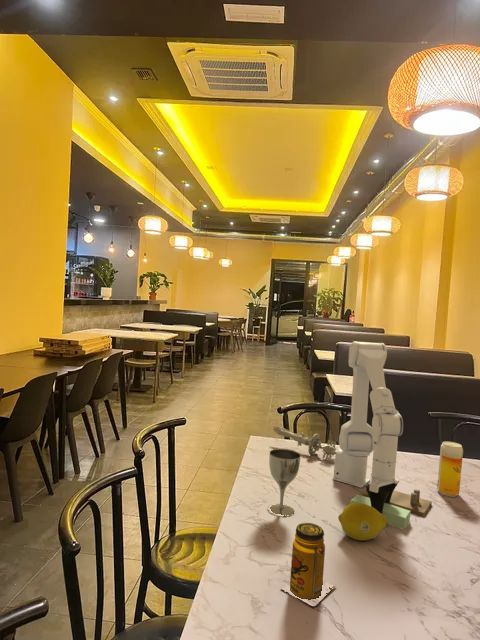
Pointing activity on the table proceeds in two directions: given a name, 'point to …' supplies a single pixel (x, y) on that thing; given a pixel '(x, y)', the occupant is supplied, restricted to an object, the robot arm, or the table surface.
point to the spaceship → (309, 442)
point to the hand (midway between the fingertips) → (380, 510)
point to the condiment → (308, 561)
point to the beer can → (450, 468)
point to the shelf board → (388, 512)
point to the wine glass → (283, 475)
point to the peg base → (408, 501)
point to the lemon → (361, 521)
